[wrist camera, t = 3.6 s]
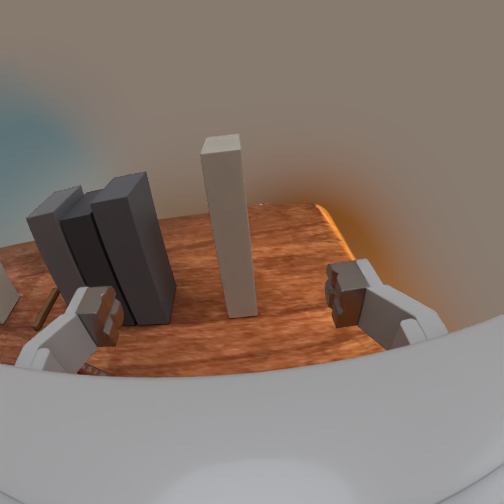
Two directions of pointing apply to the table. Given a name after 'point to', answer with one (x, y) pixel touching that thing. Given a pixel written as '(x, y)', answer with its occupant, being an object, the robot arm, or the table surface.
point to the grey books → (108, 246)
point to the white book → (230, 222)
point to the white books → (5, 297)
